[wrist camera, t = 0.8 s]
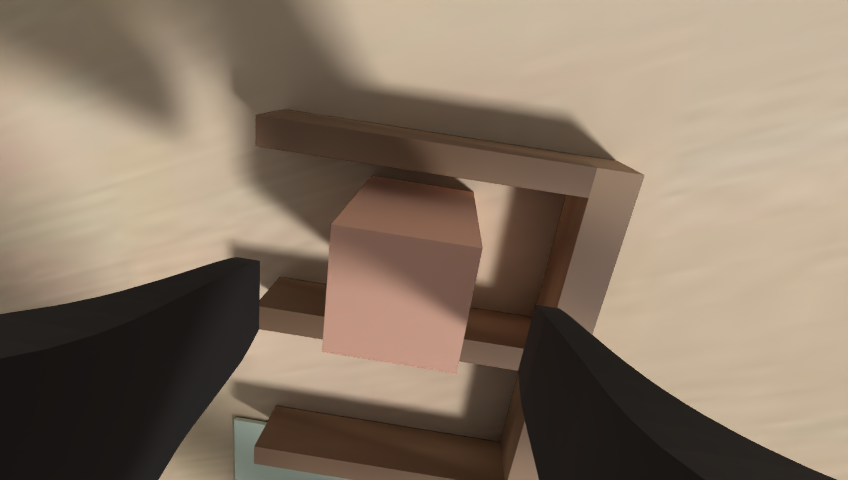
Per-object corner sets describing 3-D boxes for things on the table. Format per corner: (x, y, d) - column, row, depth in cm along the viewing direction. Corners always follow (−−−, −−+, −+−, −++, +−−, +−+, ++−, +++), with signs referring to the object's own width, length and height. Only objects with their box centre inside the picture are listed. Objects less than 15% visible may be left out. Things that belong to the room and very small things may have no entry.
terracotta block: (456, 283, 18) (456, 373, 13) (362, 268, 18) (321, 352, 13) (473, 191, 17) (482, 248, 11) (371, 175, 17) (331, 224, 11)
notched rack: (497, 557, 24) (501, 609, 22) (237, 514, 24) (213, 561, 22) (617, 160, 16) (644, 175, 14) (231, 101, 16) (194, 105, 14)
